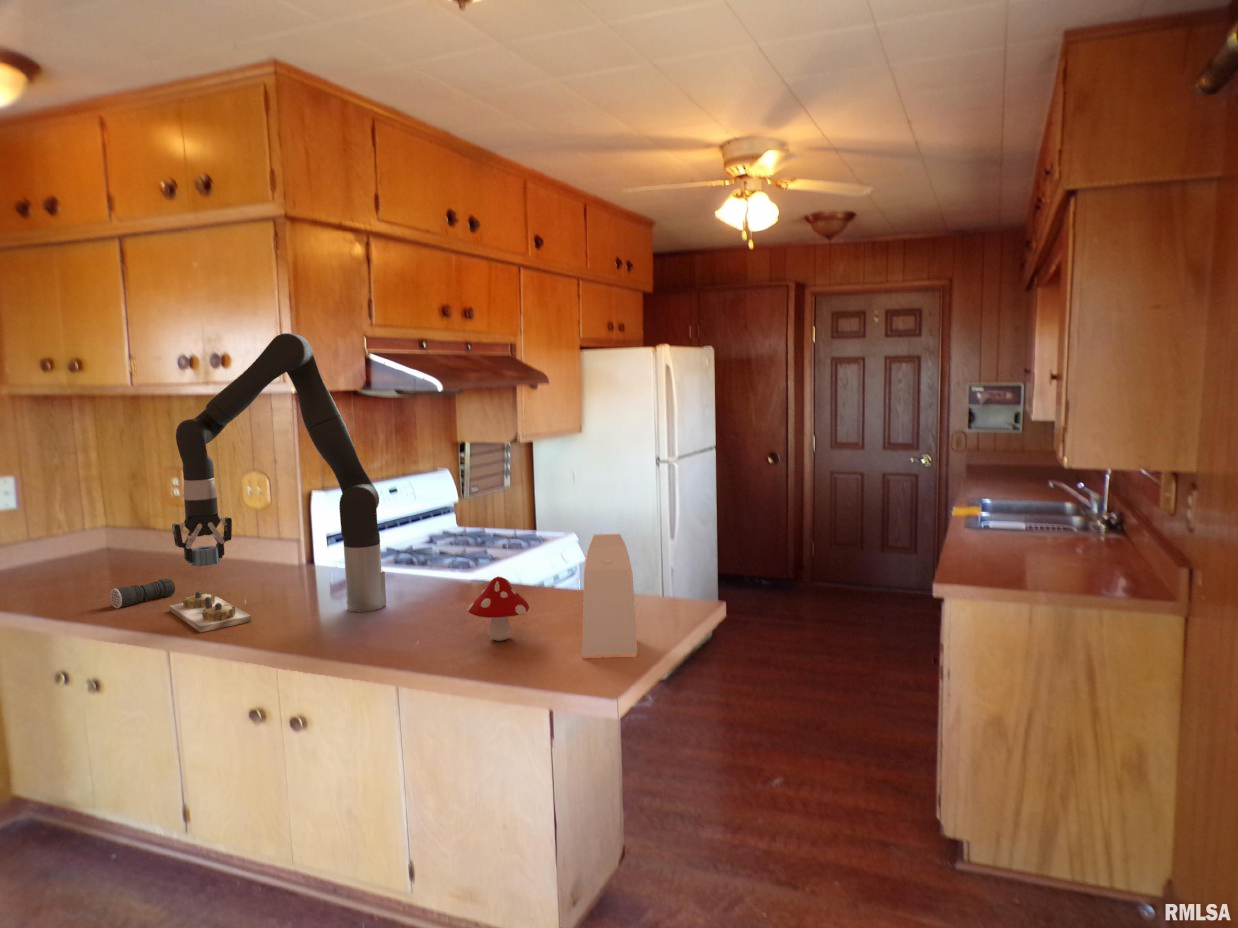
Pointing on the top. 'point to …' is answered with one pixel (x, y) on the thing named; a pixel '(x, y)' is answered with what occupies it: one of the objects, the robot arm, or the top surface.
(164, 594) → the flashlight
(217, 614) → the gear board
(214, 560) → the loose gear
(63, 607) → the top surface
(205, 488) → the robot arm
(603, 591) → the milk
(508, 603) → the decorative mushroom
